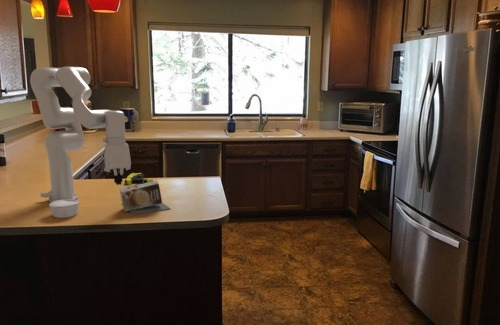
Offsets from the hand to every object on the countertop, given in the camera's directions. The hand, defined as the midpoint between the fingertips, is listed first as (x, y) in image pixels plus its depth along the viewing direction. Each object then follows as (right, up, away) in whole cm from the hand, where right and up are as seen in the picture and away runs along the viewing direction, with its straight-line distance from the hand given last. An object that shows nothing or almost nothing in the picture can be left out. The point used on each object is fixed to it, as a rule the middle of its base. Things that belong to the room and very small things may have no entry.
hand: (118, 183), depth 177 cm
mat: (+9, -10, +8) cm, 16 cm away
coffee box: (+1, -7, +1) cm, 7 cm away
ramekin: (-21, -13, -3) cm, 25 cm away
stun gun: (-5, -2, +57) cm, 57 cm away
